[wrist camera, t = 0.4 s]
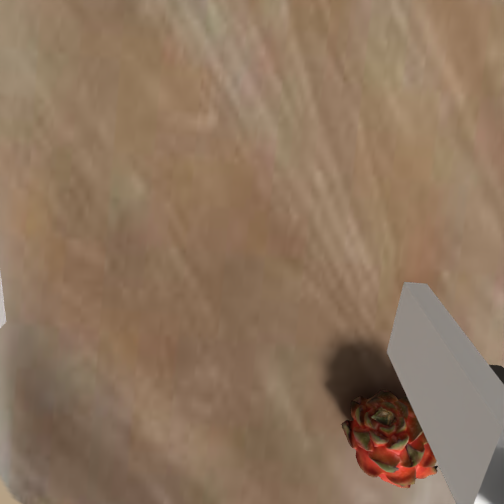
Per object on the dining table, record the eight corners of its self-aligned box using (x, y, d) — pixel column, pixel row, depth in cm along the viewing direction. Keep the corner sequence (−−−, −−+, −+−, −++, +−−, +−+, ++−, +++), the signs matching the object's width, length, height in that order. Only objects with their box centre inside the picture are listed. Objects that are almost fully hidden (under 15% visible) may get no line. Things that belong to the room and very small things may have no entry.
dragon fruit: (348, 362, 50) (409, 416, 55) (308, 436, 48) (376, 486, 52) (413, 382, 43) (477, 442, 48) (370, 470, 40) (443, 524, 45)
